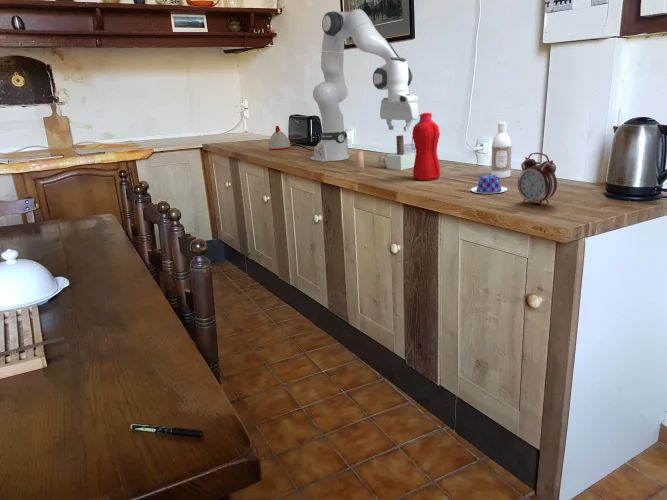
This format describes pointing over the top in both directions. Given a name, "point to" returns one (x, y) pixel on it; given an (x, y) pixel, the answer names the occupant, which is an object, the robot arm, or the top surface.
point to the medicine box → (409, 148)
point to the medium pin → (360, 161)
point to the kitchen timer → (279, 140)
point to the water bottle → (426, 148)
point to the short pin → (381, 161)
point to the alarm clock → (537, 180)
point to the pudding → (489, 185)
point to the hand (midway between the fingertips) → (398, 130)
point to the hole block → (400, 161)
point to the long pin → (400, 145)
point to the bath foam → (501, 153)
